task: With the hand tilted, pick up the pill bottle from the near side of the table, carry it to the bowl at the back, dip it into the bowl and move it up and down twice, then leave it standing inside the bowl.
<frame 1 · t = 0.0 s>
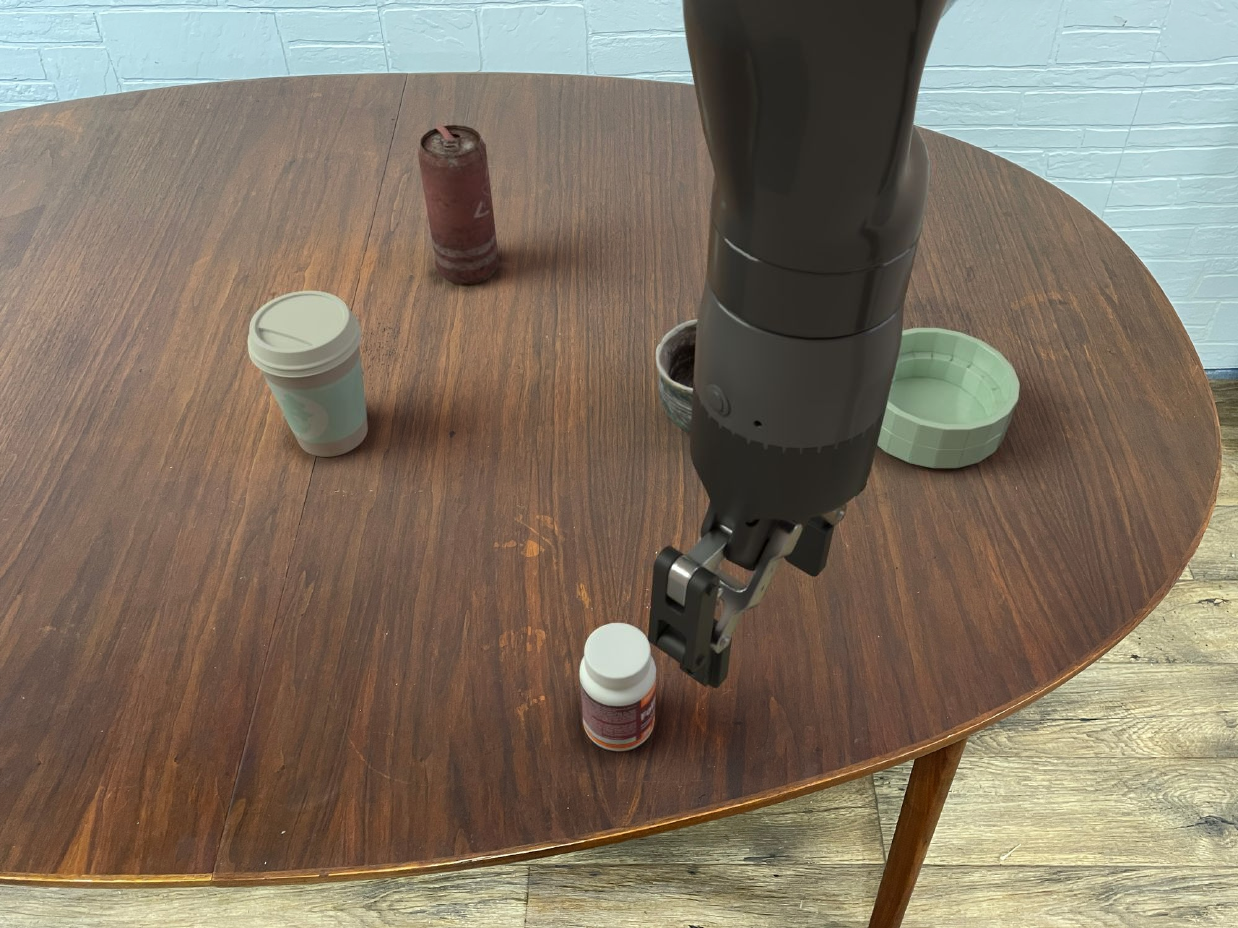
hand: (755, 616, 52), 18 cm above the table, tool pointing down, fingers open, 8 cm apart
mug: (712, 407, 89), on the table
pill bottle: (619, 721, 69), on the table
can: (468, 269, 103), on the table
bowl: (928, 420, 88), on the table
coffee cup: (333, 434, 87), on the table
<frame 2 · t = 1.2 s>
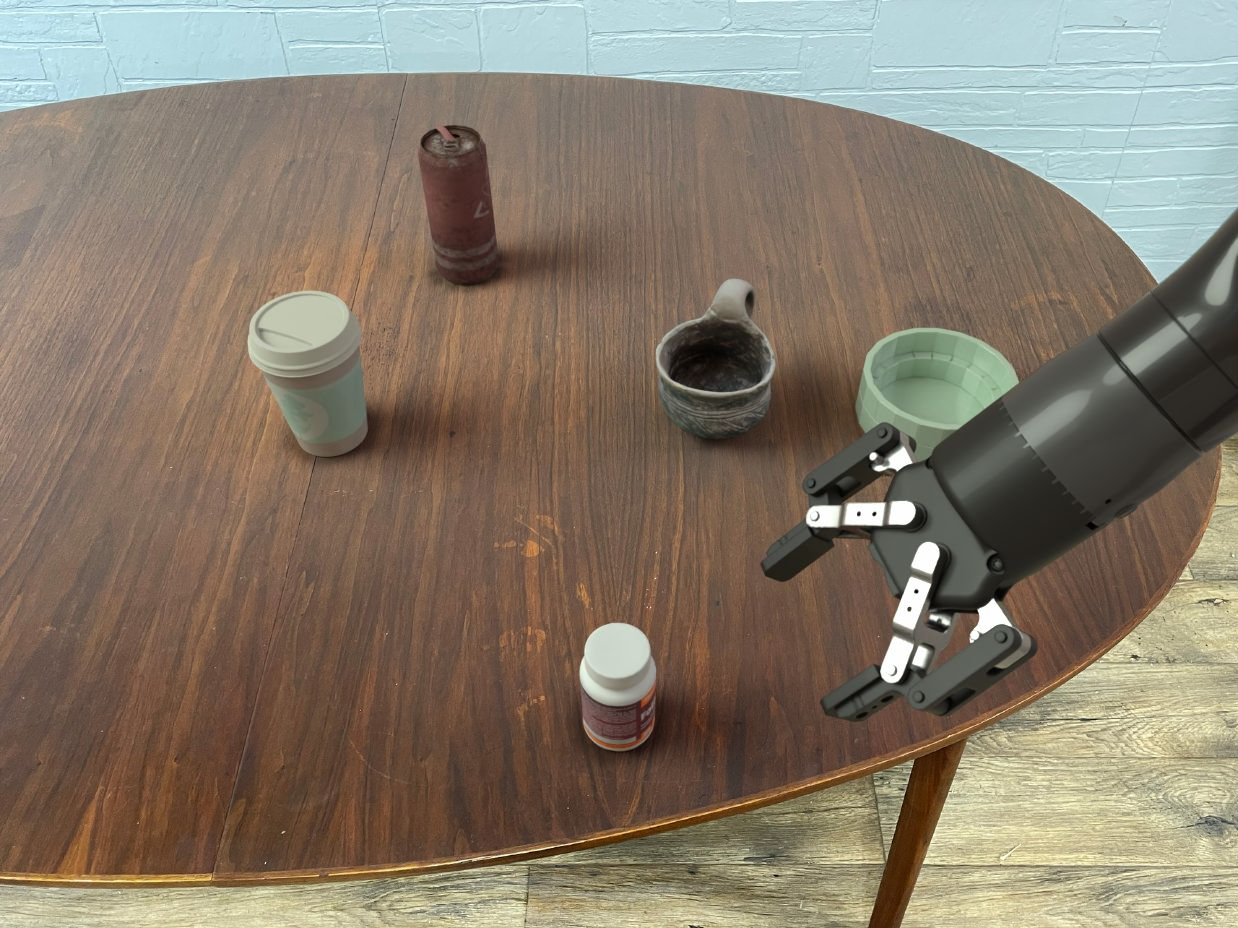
hand: (799, 639, 55), 15 cm above the table, tool tilted 45°, fingers open, 8 cm apart
nothing on the table moved.
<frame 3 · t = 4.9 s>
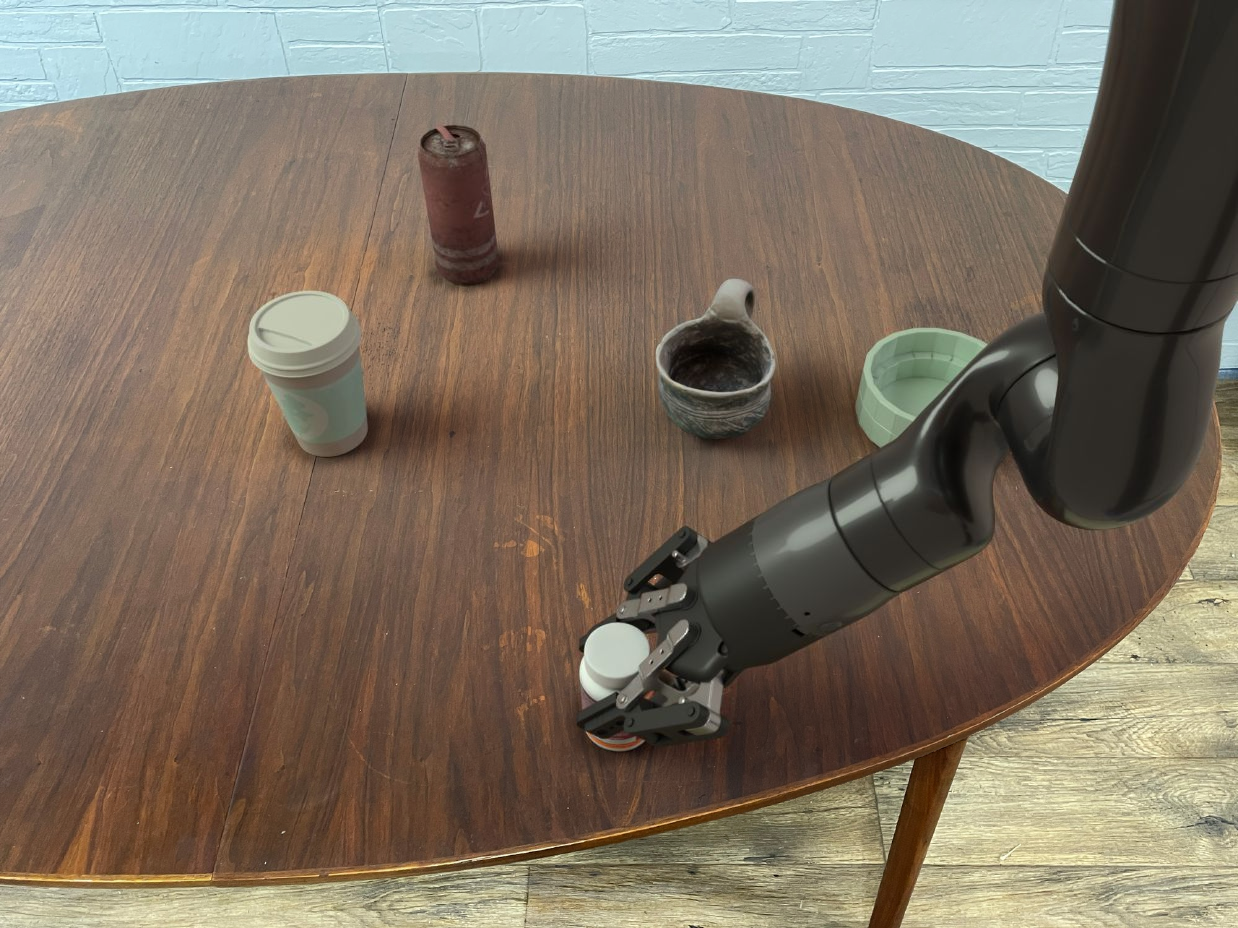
hand: (588, 687, 66), 4 cm above the table, tool tilted 45°, fingers closed on pill bottle, 4 cm apart
pill bottle: (619, 721, 69), on the table, touching gripper
everything else where it was.
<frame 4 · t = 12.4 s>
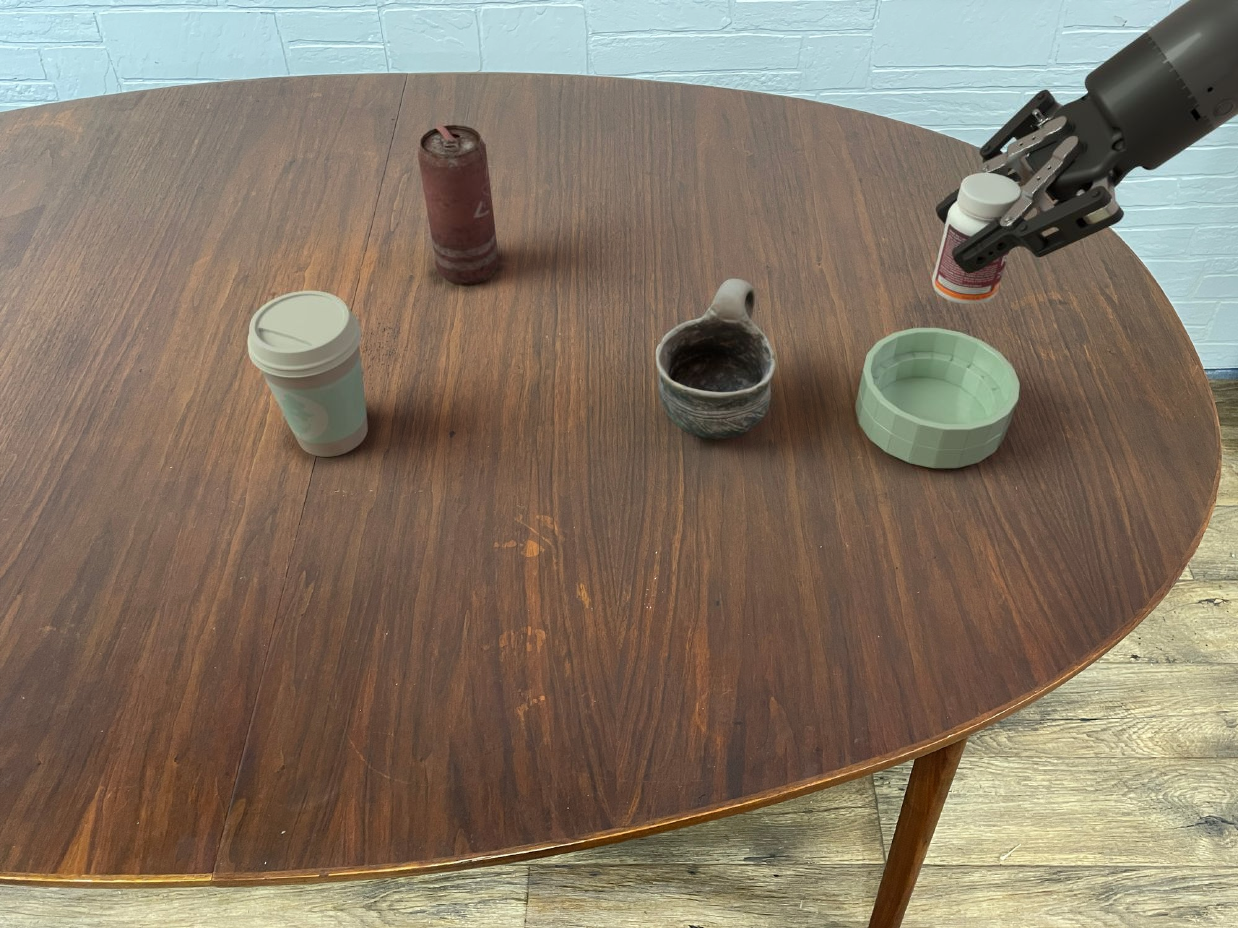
hand: (951, 241, 74), 18 cm above the table, tool tilted 45°, fingers closed on pill bottle, 4 cm apart
pill bottle: (963, 289, 77), point 14 cm above the table, touching gripper
everything else where it was.
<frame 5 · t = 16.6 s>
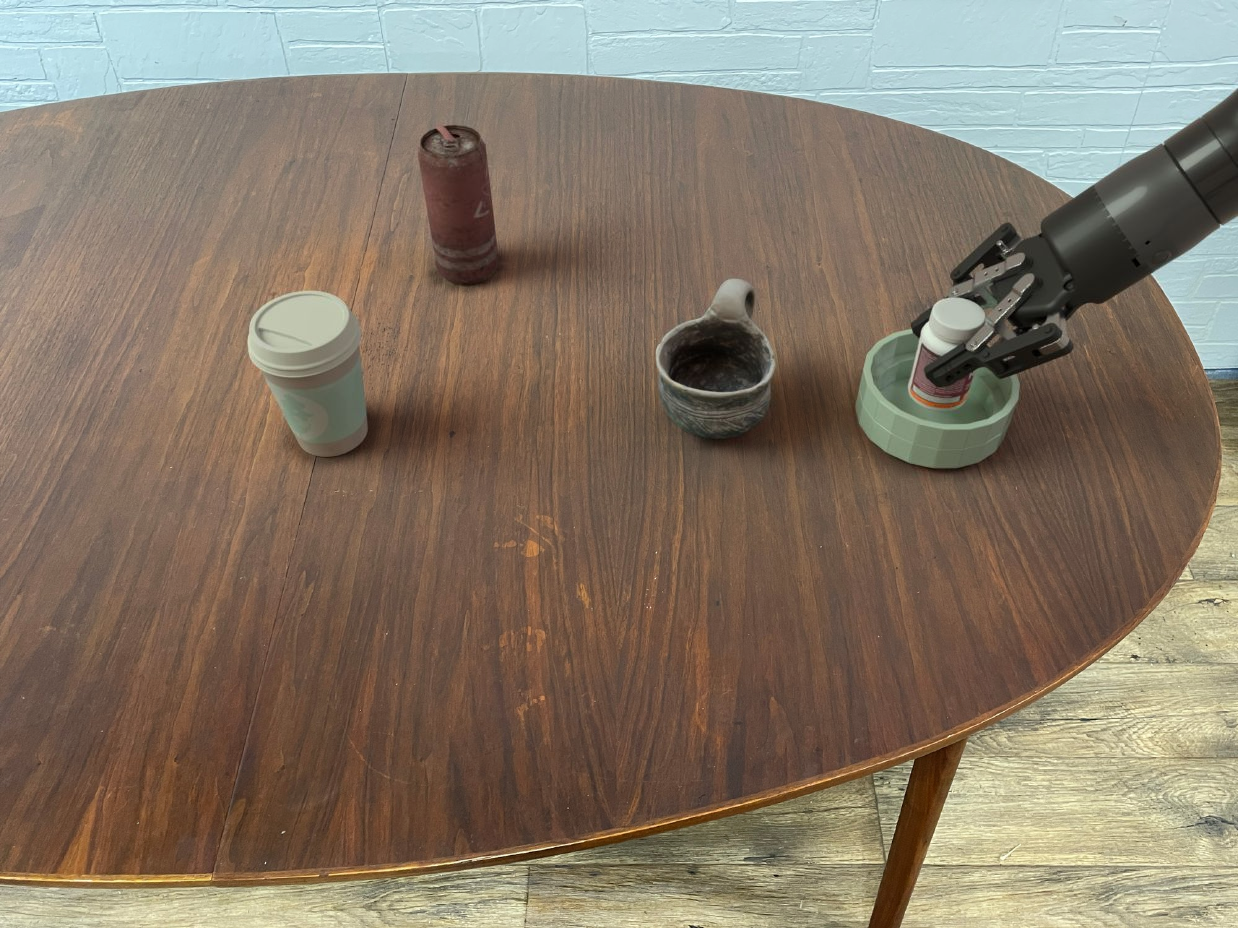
hand: (924, 356, 82), 7 cm above the table, tool tilted 45°, fingers closed on pill bottle, 4 cm apart
pill bottle: (936, 395, 85), point 3 cm above the table, touching gripper
everything else where it was.
when the fingers open (5 cm above the table, at t = 19.9 s): pill bottle stays where it is, resting on bowl.
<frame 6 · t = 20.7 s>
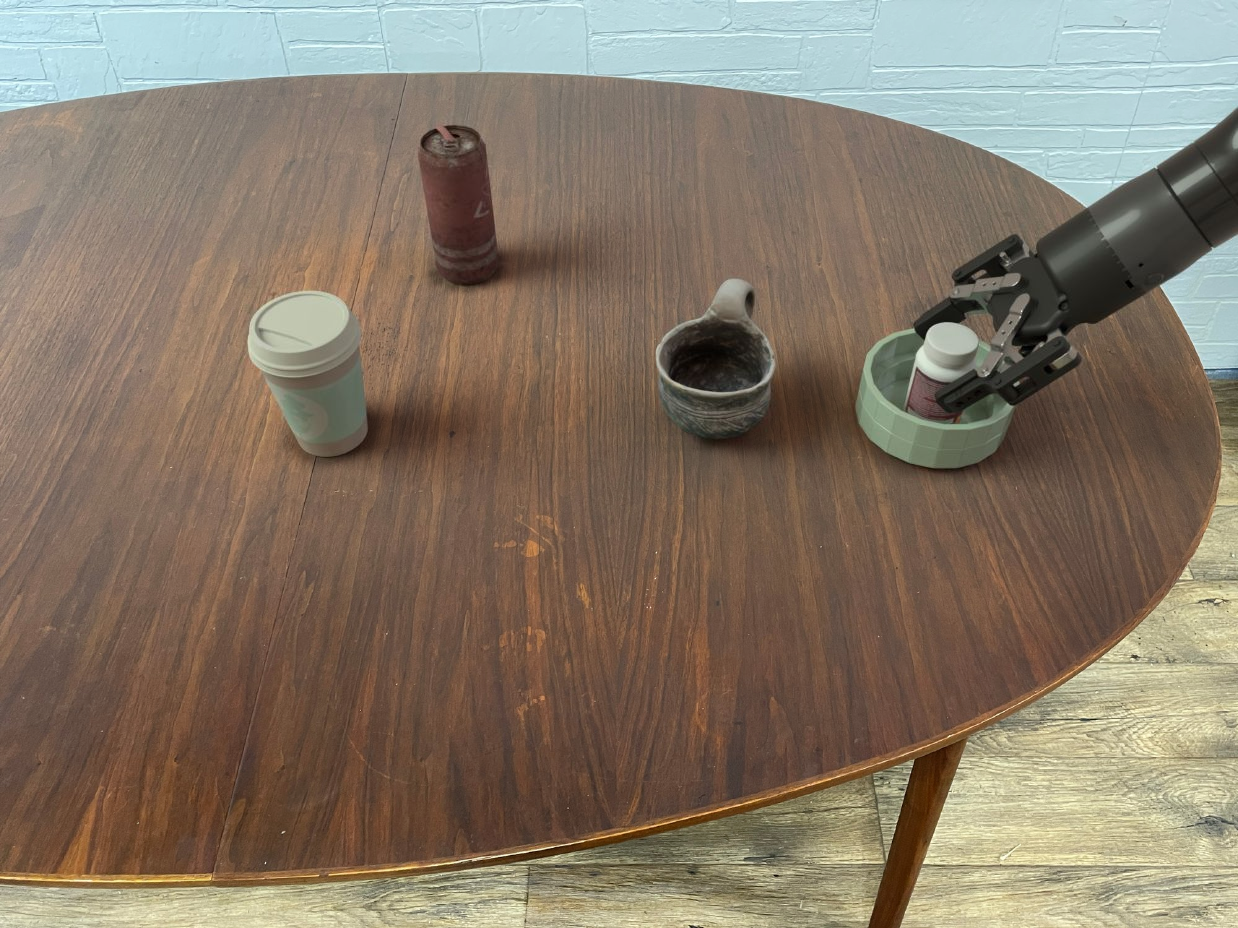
hand: (929, 368, 83), 6 cm above the table, tool tilted 45°, fingers open, 8 cm apart
pill bottle: (930, 417, 87), resting on bowl
everything else where it was.
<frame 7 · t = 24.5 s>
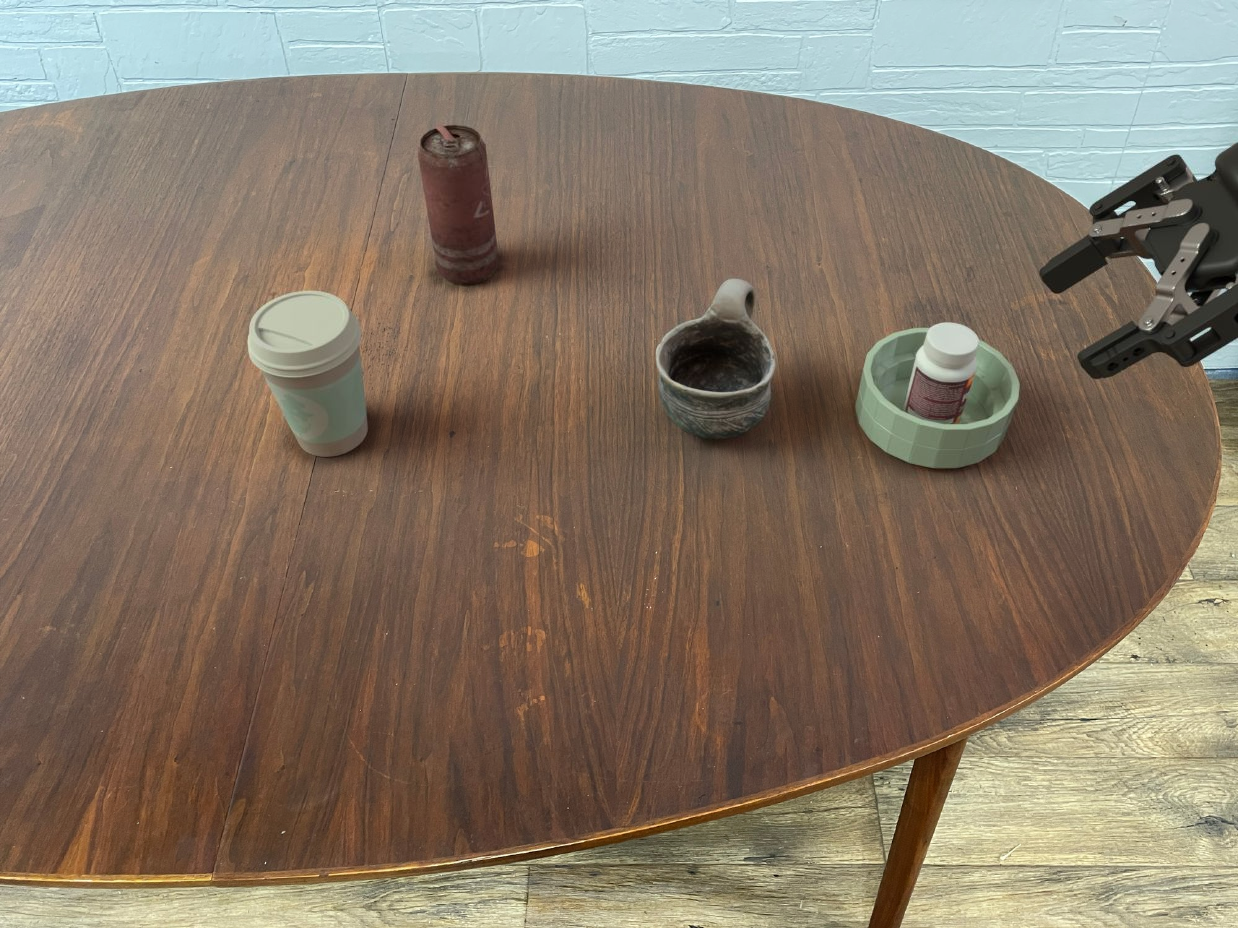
hand: (1064, 324, 66), 19 cm above the table, tool tilted 45°, fingers open, 8 cm apart
nothing on the table moved.
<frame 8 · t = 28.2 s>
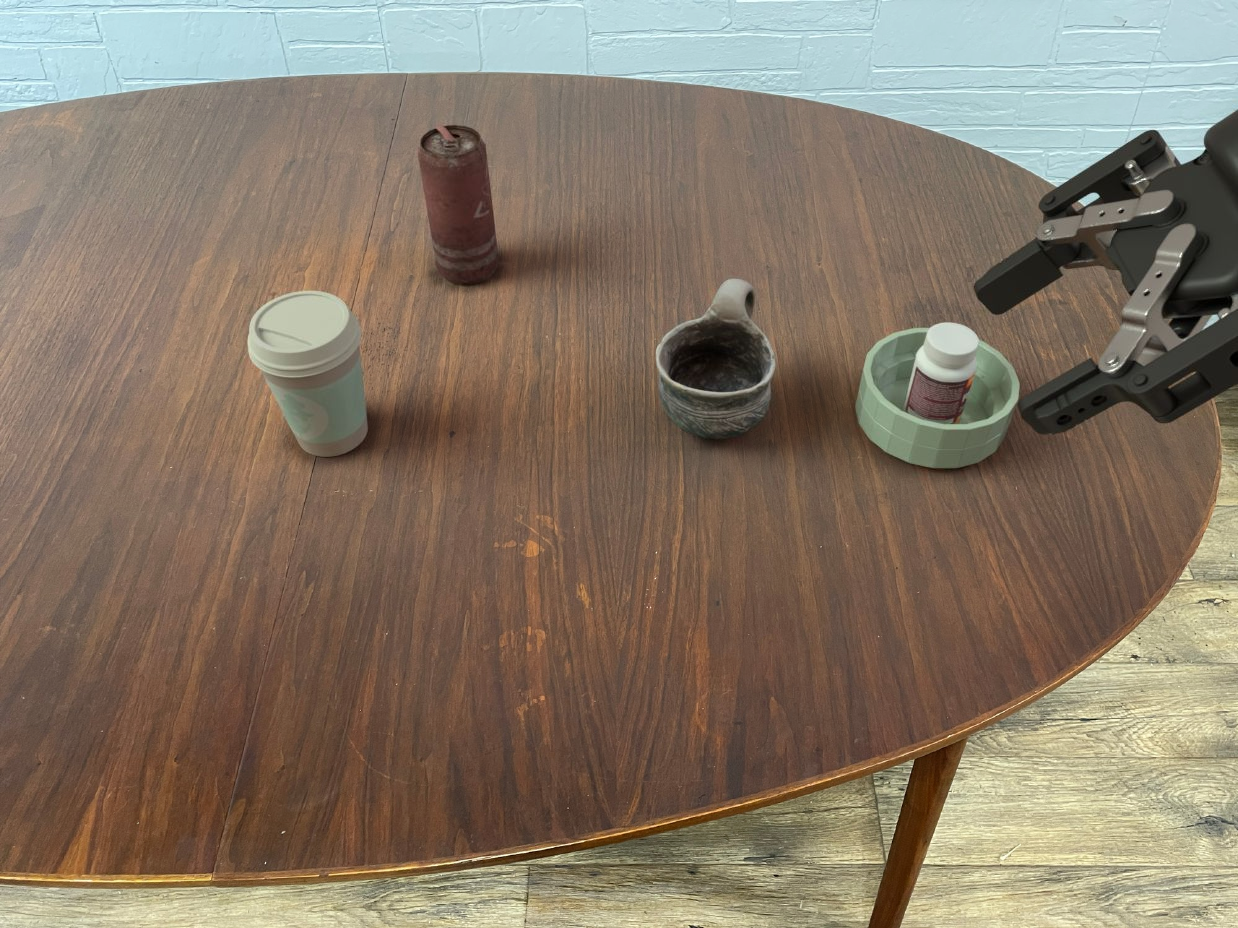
hand: (1004, 358, 50), 29 cm above the table, tool tilted 45°, fingers open, 8 cm apart
nothing on the table moved.
at the end: pill bottle inside the target area in the bowl (0.1 cm from its centre), point 0.4 cm above the bowl's base; pill bottle tilted 0°; the gripper is holding nothing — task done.
